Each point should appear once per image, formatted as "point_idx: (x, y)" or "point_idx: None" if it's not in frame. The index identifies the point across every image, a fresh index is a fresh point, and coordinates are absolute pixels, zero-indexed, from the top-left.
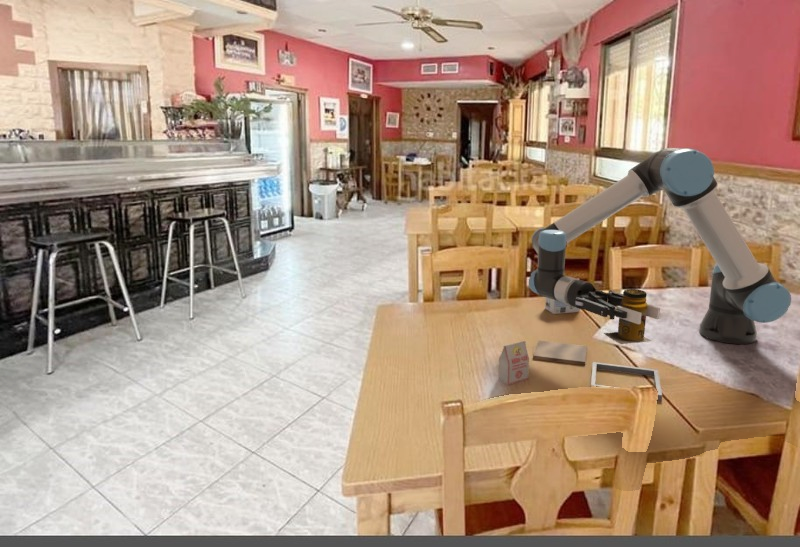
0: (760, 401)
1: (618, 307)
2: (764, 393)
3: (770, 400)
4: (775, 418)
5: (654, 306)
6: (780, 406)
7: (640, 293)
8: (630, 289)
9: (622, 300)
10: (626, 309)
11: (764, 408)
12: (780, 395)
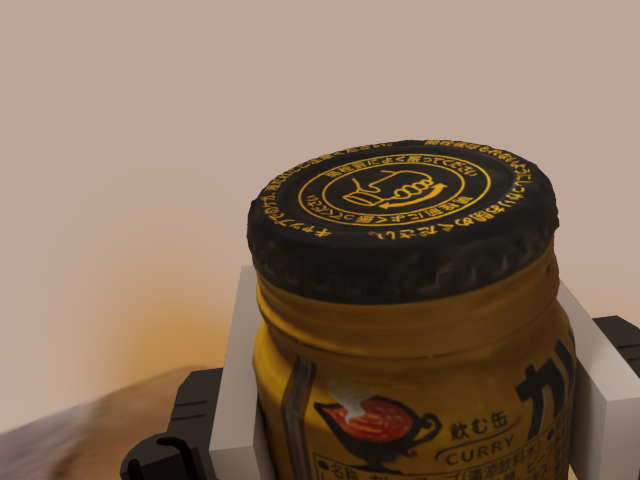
0: (104, 436)
1: (633, 381)
2: (24, 464)
3: (74, 431)
4: (192, 371)
5: (238, 296)
6: (100, 403)
7: (378, 161)
8: (368, 231)
9: (536, 353)
10: (577, 304)
11: (149, 408)
12: (10, 440)
